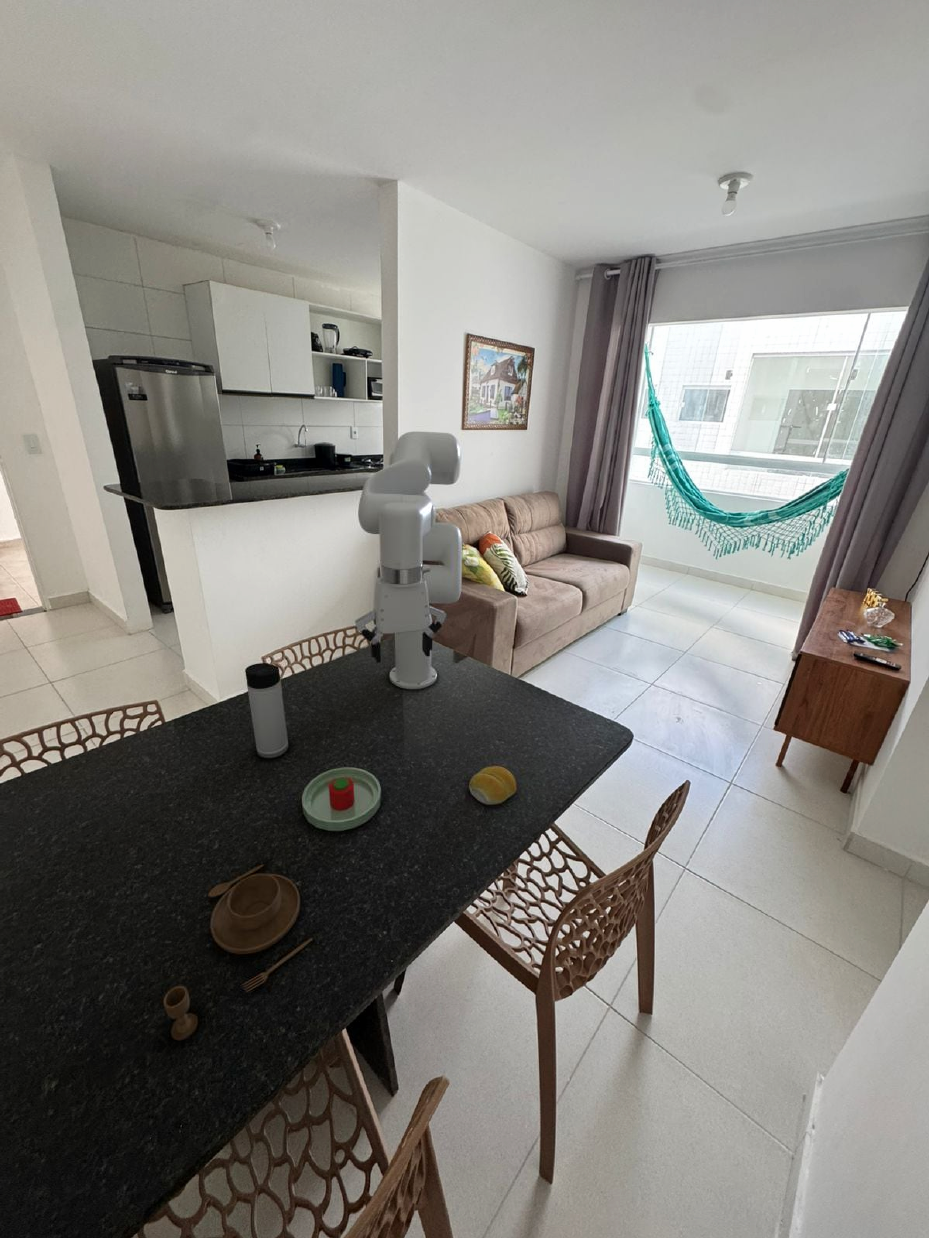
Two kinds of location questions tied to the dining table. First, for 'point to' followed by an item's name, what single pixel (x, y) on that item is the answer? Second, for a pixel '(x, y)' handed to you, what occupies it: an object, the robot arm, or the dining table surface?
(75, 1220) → the dining table surface
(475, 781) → the bread roll
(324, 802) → the dish
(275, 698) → the travel mug
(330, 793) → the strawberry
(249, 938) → the place setting
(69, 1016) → the dining table surface
